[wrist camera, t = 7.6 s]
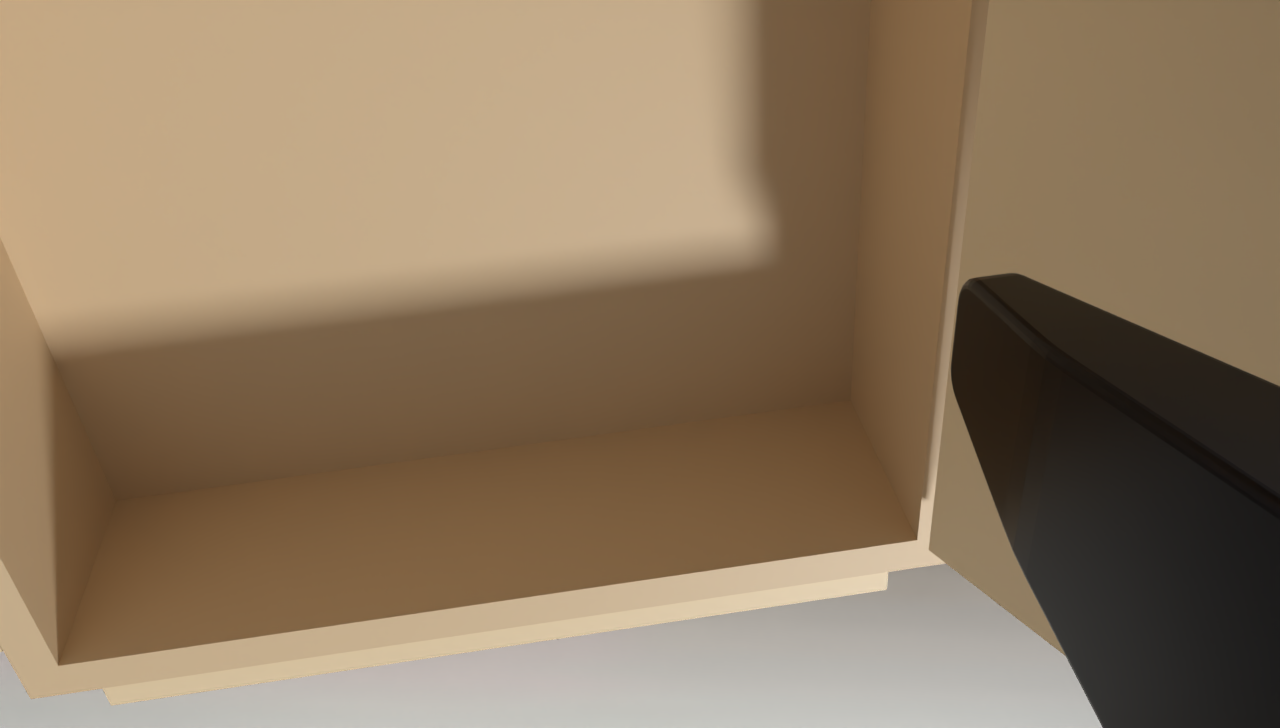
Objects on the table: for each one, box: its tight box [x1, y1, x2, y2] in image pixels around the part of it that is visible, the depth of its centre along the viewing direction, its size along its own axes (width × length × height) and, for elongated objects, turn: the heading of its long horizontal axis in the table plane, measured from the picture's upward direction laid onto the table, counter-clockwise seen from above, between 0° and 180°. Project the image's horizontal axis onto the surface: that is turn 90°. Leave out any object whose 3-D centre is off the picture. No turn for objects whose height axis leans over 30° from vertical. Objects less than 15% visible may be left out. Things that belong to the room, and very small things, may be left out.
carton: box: [0, 0, 989, 706], centre depth 14 cm, size 18×14×4 cm
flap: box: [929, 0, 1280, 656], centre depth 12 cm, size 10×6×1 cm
